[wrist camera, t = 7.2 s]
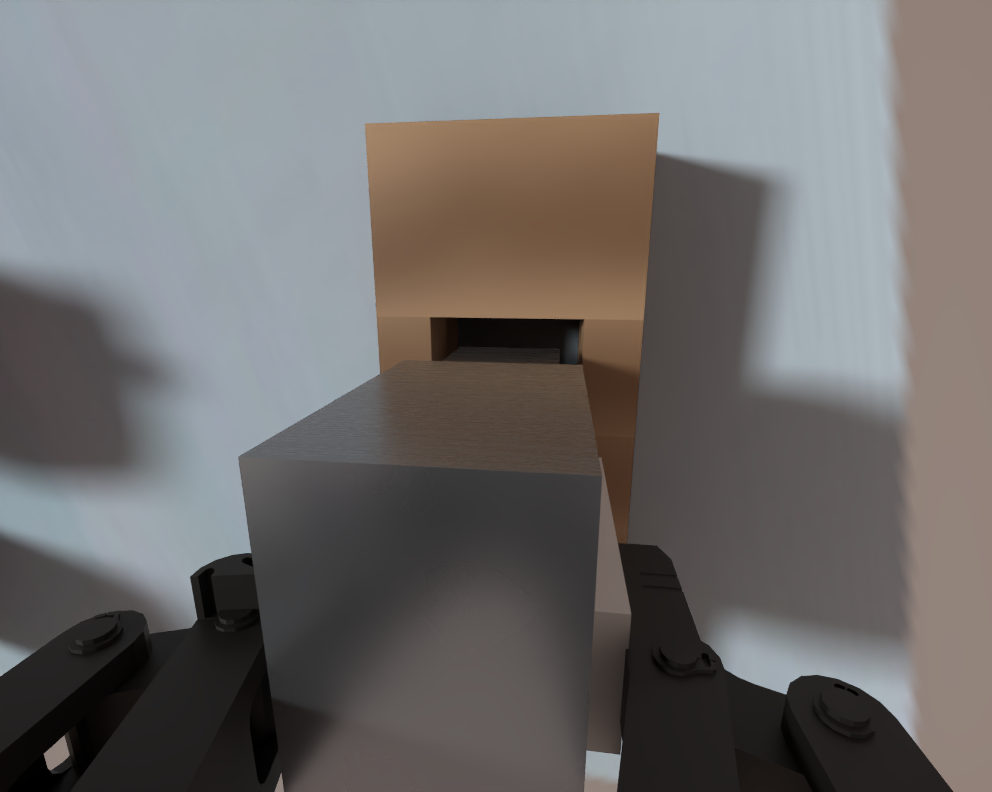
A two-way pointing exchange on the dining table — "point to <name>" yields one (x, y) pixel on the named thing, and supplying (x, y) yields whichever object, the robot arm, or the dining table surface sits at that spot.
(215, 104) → the dining table surface
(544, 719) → the grey block
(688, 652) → the robot arm
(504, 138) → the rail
